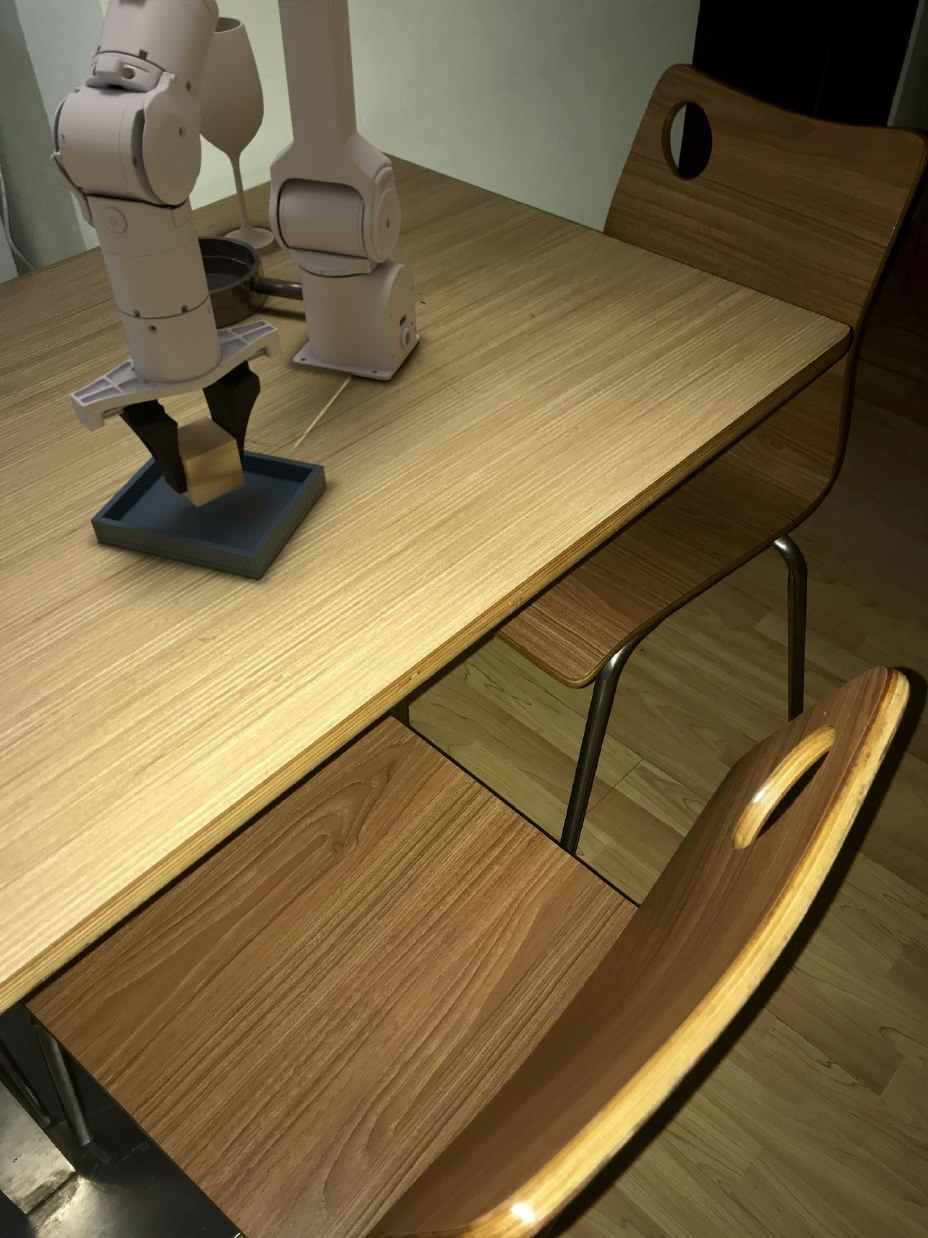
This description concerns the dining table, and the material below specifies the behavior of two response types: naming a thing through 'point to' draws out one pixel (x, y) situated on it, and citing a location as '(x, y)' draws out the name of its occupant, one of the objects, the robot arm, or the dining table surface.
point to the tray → (214, 515)
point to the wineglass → (233, 109)
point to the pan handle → (277, 288)
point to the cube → (209, 461)
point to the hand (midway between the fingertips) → (205, 473)
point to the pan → (231, 278)
